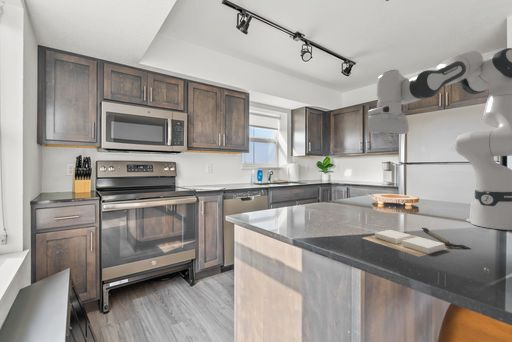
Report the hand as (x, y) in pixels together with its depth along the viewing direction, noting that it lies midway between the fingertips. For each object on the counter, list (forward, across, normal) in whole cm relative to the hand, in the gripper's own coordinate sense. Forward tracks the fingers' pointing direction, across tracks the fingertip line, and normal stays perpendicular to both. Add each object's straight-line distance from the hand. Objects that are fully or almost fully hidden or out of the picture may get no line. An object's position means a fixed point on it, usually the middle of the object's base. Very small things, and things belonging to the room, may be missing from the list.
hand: (389, 144), depth 102 cm
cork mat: (+34, +15, +17) cm, 41 cm away
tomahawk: (+34, +1, +20) cm, 40 cm away
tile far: (+33, +12, +13) cm, 37 cm away
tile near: (+33, +12, +23) cm, 42 cm away
